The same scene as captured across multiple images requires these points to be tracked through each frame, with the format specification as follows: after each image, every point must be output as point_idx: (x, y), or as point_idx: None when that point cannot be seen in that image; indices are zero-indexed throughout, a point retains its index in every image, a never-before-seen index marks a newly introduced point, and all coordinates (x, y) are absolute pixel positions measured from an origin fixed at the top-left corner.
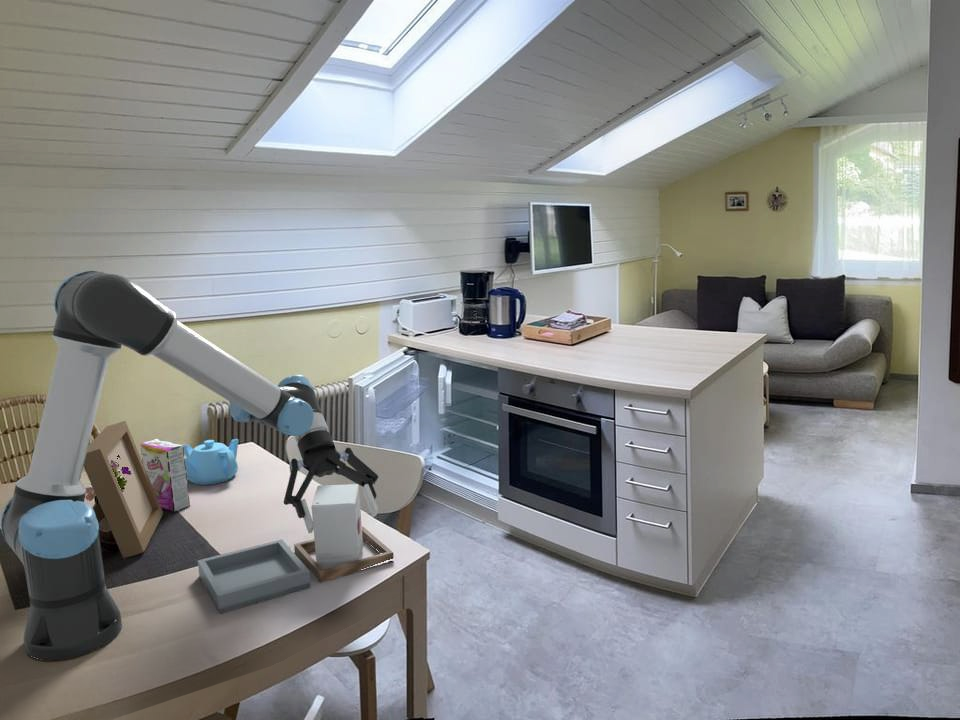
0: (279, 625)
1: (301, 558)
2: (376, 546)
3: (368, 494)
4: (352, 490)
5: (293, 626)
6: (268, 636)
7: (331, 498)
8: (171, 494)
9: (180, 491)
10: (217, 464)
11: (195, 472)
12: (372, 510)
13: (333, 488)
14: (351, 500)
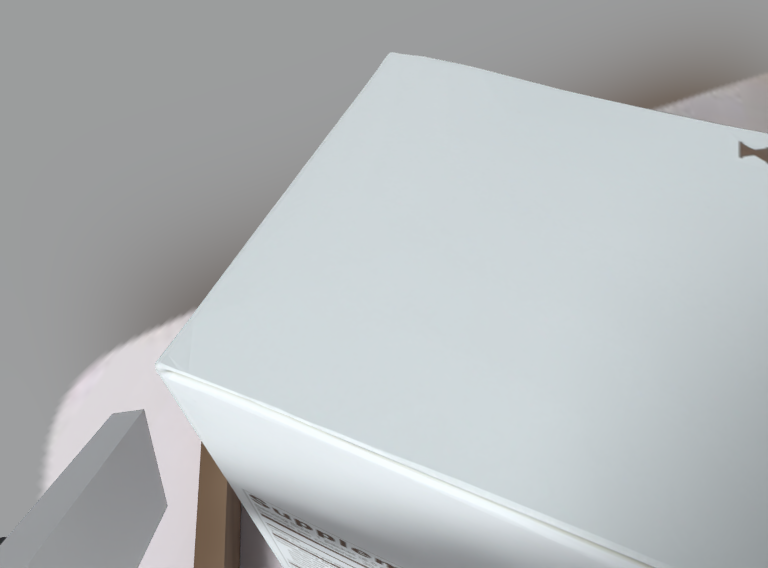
0: (723, 124)
1: None
2: (233, 504)
3: (63, 534)
4: (316, 225)
5: (677, 107)
6: (750, 91)
7: (596, 166)
8: None
9: None
10: None
11: None
12: (144, 480)
13: (554, 377)
14: (398, 86)
